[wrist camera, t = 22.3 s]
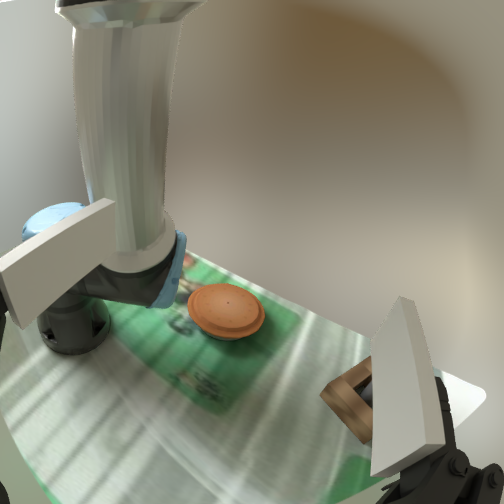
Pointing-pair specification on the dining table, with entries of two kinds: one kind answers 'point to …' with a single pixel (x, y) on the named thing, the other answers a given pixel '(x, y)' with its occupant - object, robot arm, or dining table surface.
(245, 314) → the pie
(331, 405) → the wooden square frame
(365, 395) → the gray cylinder
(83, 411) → the dining table surface
